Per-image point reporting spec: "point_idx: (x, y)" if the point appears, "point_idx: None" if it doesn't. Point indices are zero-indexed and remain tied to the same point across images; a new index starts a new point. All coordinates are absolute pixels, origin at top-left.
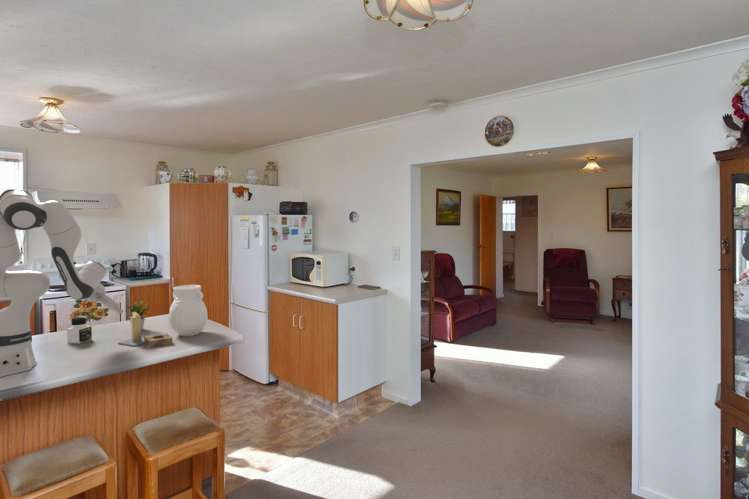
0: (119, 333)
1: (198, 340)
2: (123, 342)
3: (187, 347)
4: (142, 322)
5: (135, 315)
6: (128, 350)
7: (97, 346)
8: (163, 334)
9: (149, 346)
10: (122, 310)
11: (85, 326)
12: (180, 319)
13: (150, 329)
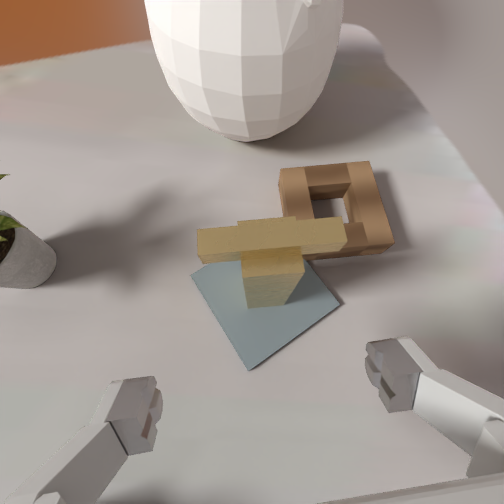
0: (37, 349)
1: (353, 106)
2: (260, 345)
3: (431, 145)
4: (29, 231)
5: (344, 242)
6: (390, 334)
7: (241, 479)
8: (297, 181)
9: (383, 251)
10: (414, 346)
11: None
12: (326, 68)
13: (71, 218)
